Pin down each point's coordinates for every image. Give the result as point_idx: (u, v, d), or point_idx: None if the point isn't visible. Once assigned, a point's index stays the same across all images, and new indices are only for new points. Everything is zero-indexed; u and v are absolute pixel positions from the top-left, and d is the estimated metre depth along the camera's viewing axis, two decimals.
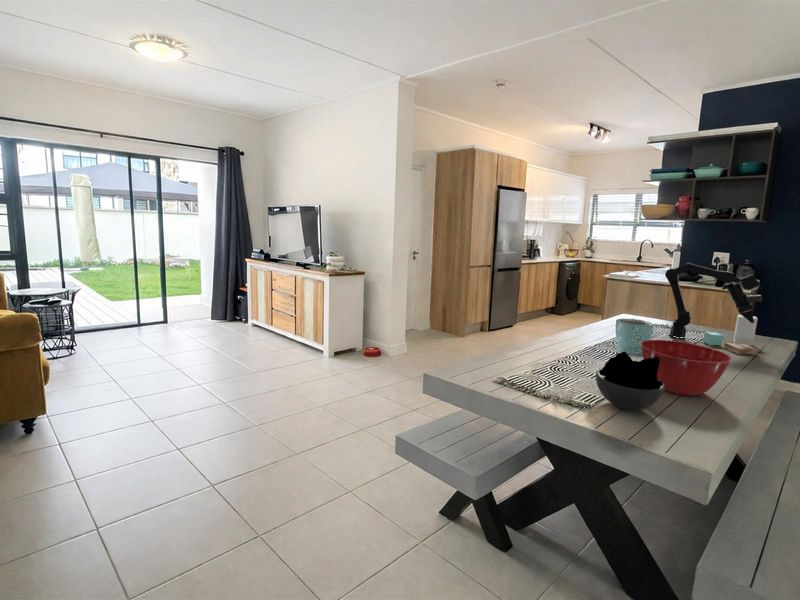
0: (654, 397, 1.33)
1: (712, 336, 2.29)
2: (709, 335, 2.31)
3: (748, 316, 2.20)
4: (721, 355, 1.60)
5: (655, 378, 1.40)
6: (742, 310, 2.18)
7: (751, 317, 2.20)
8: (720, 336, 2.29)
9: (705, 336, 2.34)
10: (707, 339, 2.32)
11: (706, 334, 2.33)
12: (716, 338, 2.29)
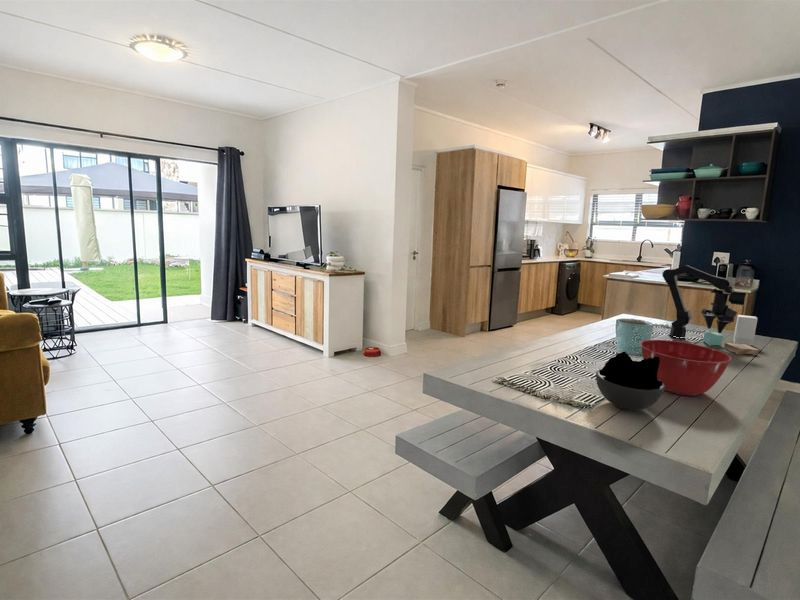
0: (654, 397, 1.33)
1: (712, 336, 2.29)
2: (709, 335, 2.31)
3: (721, 326, 2.25)
4: (720, 355, 1.60)
5: (655, 378, 1.40)
6: (725, 319, 2.21)
7: (722, 327, 2.26)
8: (720, 336, 2.29)
9: (705, 336, 2.34)
10: (707, 339, 2.32)
11: (706, 334, 2.33)
12: (716, 338, 2.29)
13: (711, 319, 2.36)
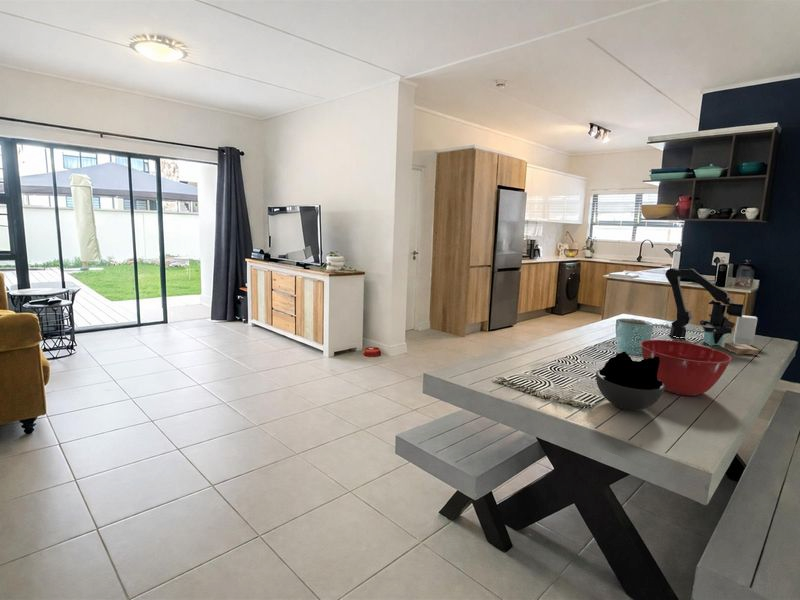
0: (654, 397, 1.33)
1: (712, 336, 2.29)
2: (709, 335, 2.31)
3: (717, 337, 2.28)
4: (720, 355, 1.60)
5: (655, 378, 1.40)
6: (723, 331, 2.22)
7: (719, 338, 2.28)
8: None
9: (705, 336, 2.34)
10: (707, 339, 2.32)
11: (706, 334, 2.33)
12: None
13: (711, 331, 2.35)
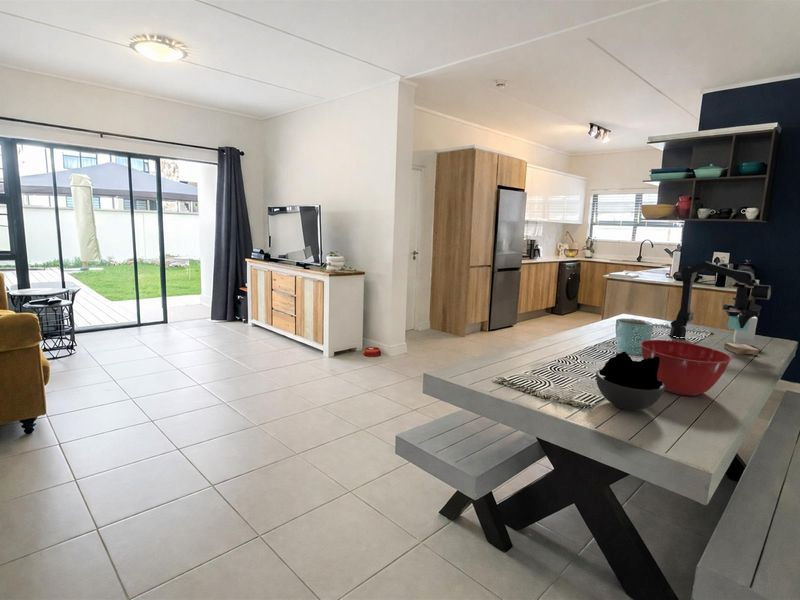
0: (654, 397, 1.33)
1: (738, 320, 2.18)
2: (734, 319, 2.20)
3: (743, 321, 2.17)
4: (720, 355, 1.60)
5: (655, 378, 1.40)
6: (750, 314, 2.11)
7: (745, 322, 2.17)
8: None
9: (730, 320, 2.23)
10: (732, 323, 2.21)
11: (731, 318, 2.22)
12: None
13: (735, 315, 2.24)
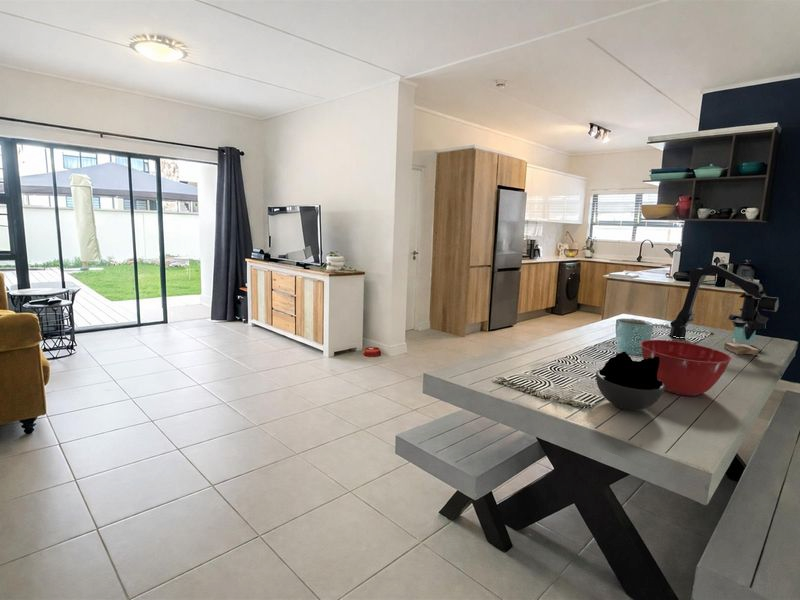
0: (654, 397, 1.33)
1: (744, 331, 2.16)
2: (740, 330, 2.17)
3: (749, 332, 2.14)
4: (720, 355, 1.60)
5: (655, 378, 1.40)
6: (756, 326, 2.09)
7: (751, 334, 2.15)
8: None
9: (736, 331, 2.21)
10: (738, 334, 2.19)
11: (737, 329, 2.20)
12: None
13: (741, 326, 2.22)
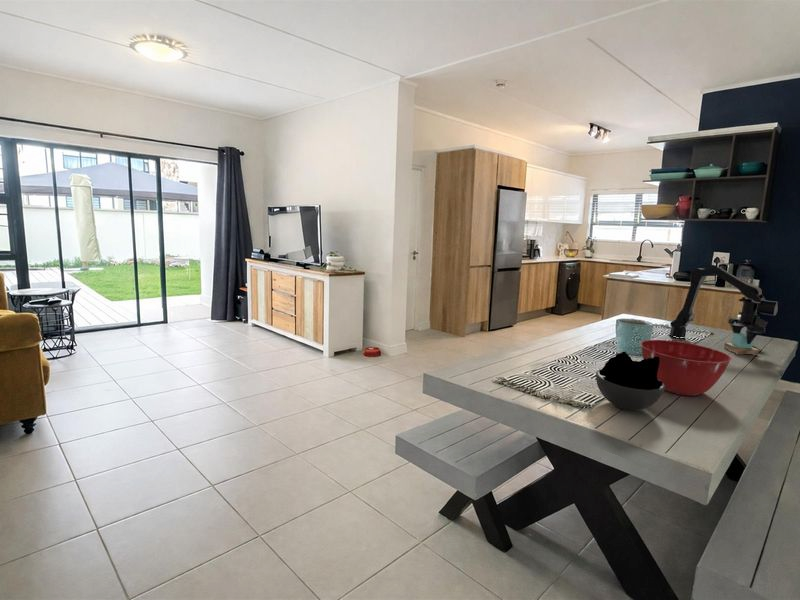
0: (654, 397, 1.33)
1: (742, 337, 2.17)
2: (739, 336, 2.18)
3: (750, 337, 2.13)
4: (720, 355, 1.60)
5: (655, 378, 1.40)
6: (755, 330, 2.09)
7: (752, 338, 2.14)
8: None
9: (734, 337, 2.21)
10: (737, 341, 2.19)
11: (735, 335, 2.21)
12: (746, 339, 2.16)
13: (739, 329, 2.23)
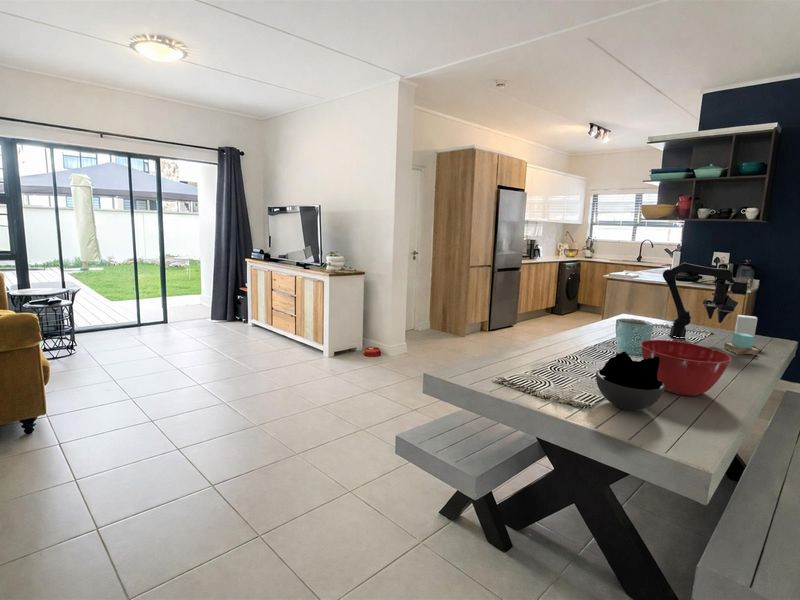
0: (654, 397, 1.33)
1: (742, 337, 2.17)
2: (739, 336, 2.18)
3: (721, 316, 2.27)
4: (720, 355, 1.60)
5: (655, 378, 1.40)
6: (725, 309, 2.23)
7: (723, 317, 2.28)
8: (751, 337, 2.16)
9: (734, 337, 2.21)
10: (737, 341, 2.19)
11: (735, 335, 2.21)
12: (746, 339, 2.16)
13: (712, 309, 2.37)
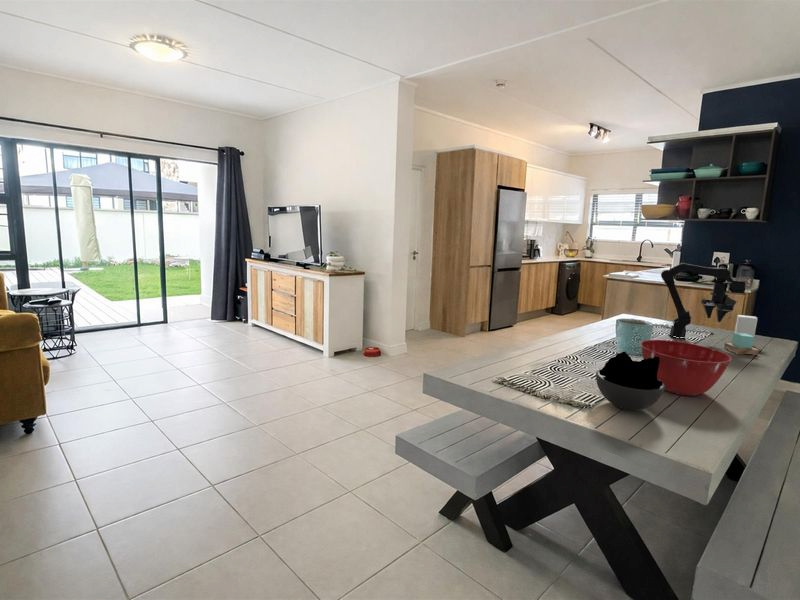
0: (654, 397, 1.33)
1: (742, 337, 2.17)
2: (739, 336, 2.18)
3: (720, 315, 2.28)
4: (721, 355, 1.60)
5: (655, 378, 1.40)
6: (724, 308, 2.24)
7: (722, 316, 2.28)
8: (751, 337, 2.16)
9: (734, 337, 2.21)
10: (737, 341, 2.19)
11: (735, 335, 2.21)
12: (746, 339, 2.16)
13: (711, 309, 2.38)
